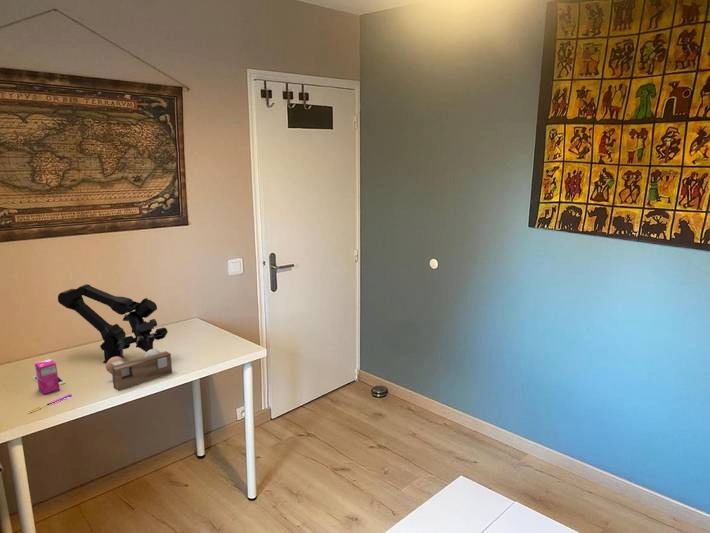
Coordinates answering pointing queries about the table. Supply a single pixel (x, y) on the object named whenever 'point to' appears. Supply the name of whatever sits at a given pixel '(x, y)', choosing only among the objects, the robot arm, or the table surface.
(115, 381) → the panel
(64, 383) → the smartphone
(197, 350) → the table surface
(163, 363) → the grey plunger
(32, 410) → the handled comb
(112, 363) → the terracotta plunger
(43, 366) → the supplement box
